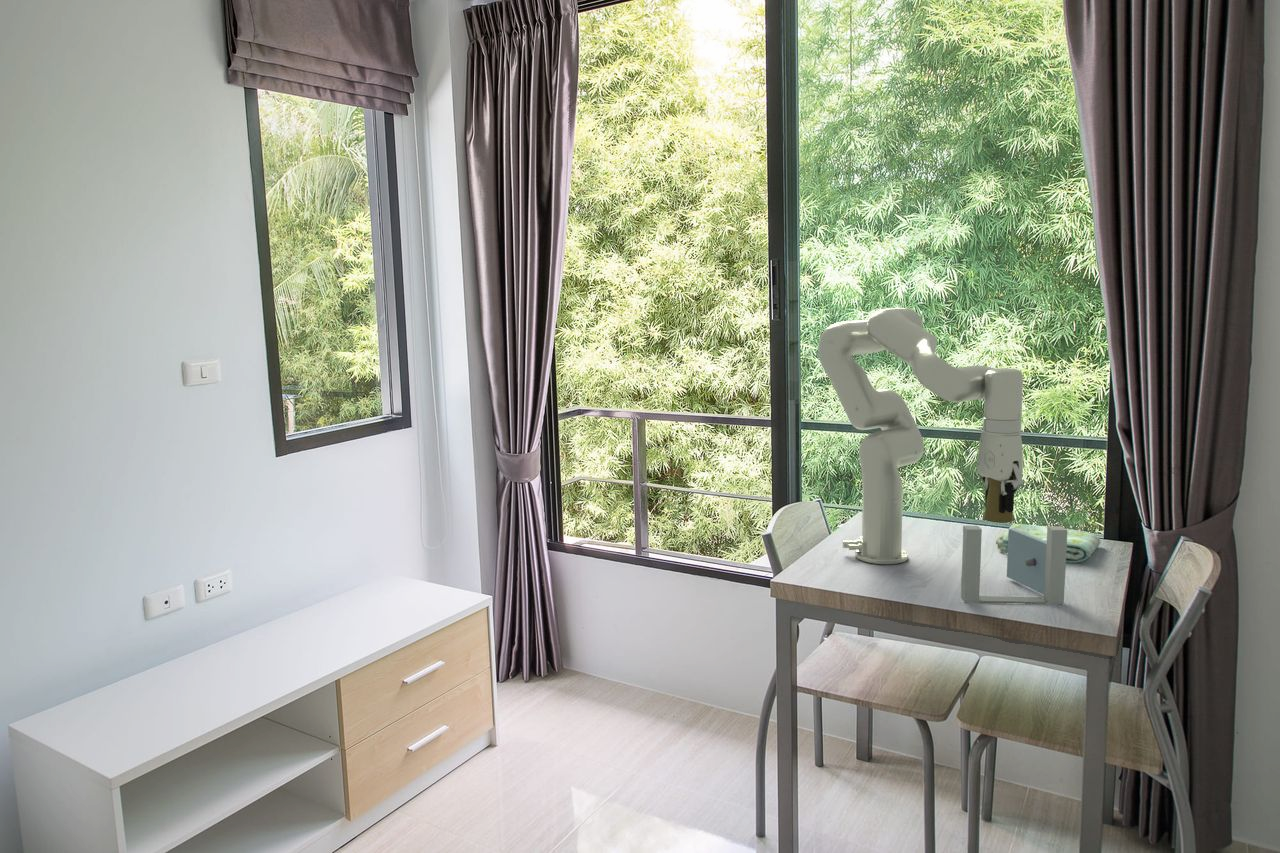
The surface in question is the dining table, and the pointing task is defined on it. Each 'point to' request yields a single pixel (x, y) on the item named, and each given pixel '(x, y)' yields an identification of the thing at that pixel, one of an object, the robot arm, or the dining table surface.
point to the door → (1026, 560)
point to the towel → (1077, 541)
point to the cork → (996, 504)
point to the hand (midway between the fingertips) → (999, 508)
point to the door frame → (1051, 594)
